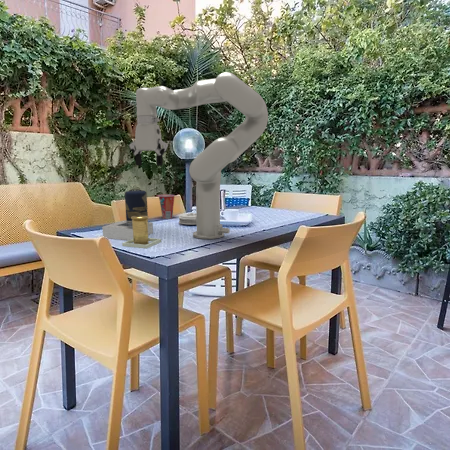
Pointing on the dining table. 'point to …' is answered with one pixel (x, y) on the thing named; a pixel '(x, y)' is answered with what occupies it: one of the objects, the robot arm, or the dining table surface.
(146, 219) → the gold metal cylinder
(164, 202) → the cup
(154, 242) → the green square frame
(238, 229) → the dining table surface
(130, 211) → the canister
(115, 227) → the housing
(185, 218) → the lid
